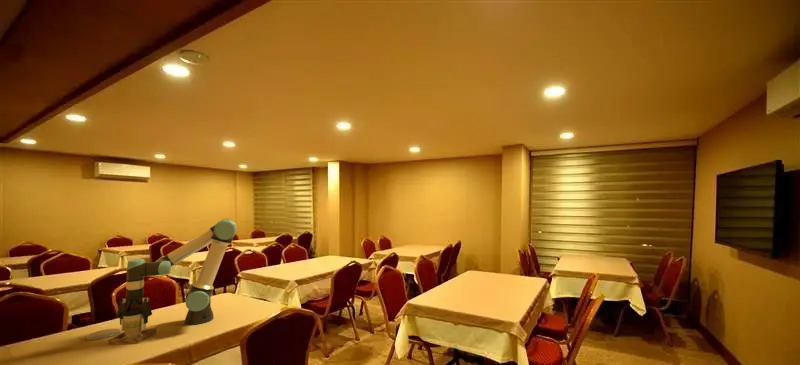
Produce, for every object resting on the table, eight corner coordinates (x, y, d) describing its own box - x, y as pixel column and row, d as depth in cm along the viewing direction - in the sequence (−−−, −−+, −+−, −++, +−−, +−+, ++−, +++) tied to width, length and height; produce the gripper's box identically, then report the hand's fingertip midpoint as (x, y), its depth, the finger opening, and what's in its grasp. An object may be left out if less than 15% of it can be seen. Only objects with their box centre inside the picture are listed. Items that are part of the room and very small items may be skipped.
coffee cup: (131, 342, 171) (132, 313, 172) (116, 341, 173) (117, 312, 174) (149, 334, 181) (150, 307, 182) (135, 333, 183) (135, 306, 184)
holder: (156, 332, 185) (156, 328, 185) (137, 343, 171) (137, 338, 171) (129, 333, 184) (129, 329, 184) (108, 344, 170) (108, 340, 170)
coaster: (126, 329, 189) (126, 327, 189) (106, 339, 175) (106, 337, 175) (100, 330, 188) (100, 329, 188) (78, 341, 174) (78, 339, 174)
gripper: (160, 285, 183) (159, 326, 182) (118, 287, 182) (117, 328, 180) (151, 289, 176) (150, 331, 175) (107, 290, 174) (106, 333, 173)
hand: (133, 330), depth 177 cm, fingers closed on coffee cup, 10 cm apart
